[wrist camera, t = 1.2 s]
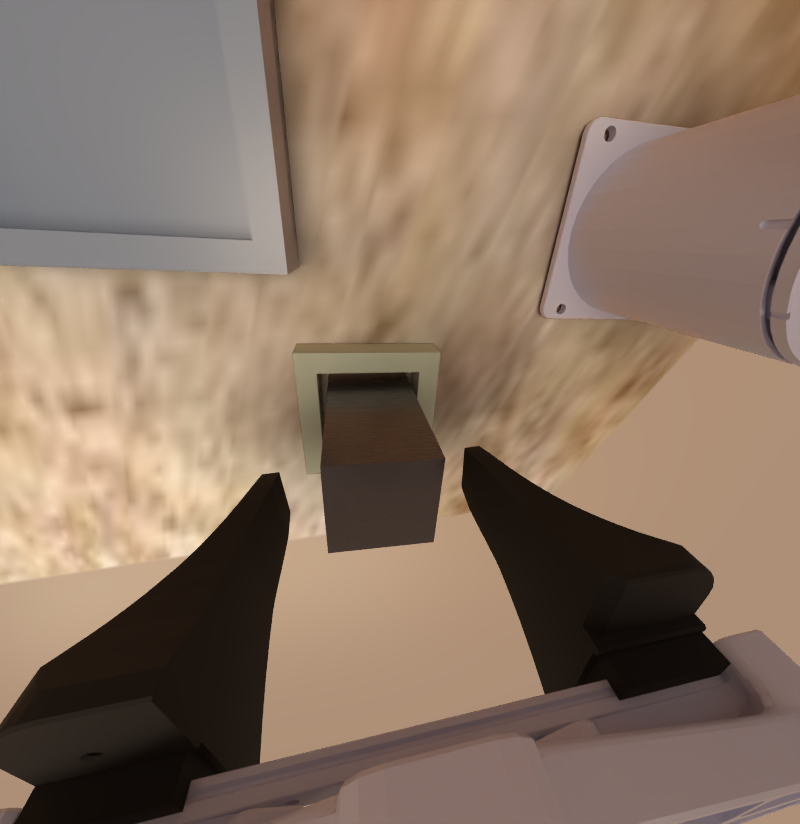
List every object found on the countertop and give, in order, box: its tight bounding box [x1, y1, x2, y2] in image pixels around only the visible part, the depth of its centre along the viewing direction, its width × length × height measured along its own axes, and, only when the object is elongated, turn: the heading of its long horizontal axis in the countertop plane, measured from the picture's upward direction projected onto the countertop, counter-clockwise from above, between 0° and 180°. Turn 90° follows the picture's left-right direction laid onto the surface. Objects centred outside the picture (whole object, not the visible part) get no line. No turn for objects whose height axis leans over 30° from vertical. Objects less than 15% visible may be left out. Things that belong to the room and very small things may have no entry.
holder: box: [292, 344, 441, 474], centre depth 17 cm, size 7×7×2 cm
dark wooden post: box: [320, 372, 445, 553], centre depth 14 cm, size 4×4×8 cm
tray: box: [0, 0, 299, 275], centre depth 9 cm, size 12×12×4 cm
